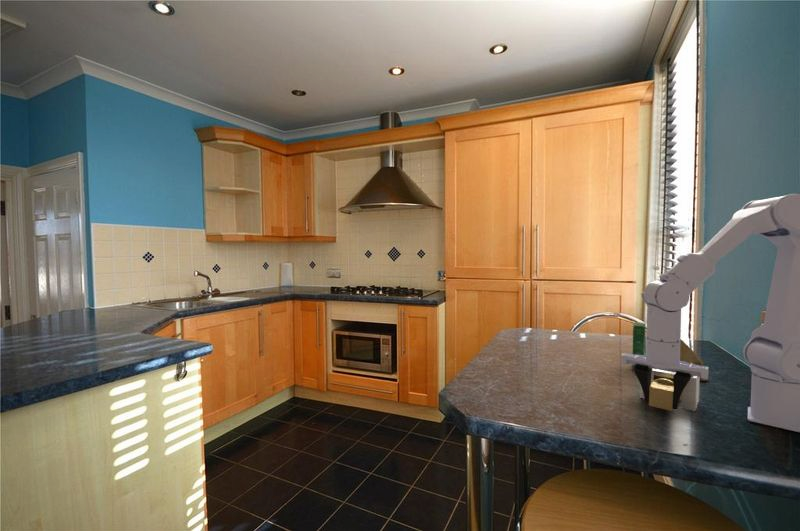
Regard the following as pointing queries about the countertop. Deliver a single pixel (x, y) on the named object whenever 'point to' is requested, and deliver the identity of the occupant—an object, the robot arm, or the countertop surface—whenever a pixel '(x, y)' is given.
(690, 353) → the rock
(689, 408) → the housing
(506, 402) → the countertop surface
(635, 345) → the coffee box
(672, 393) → the gold rounded block
